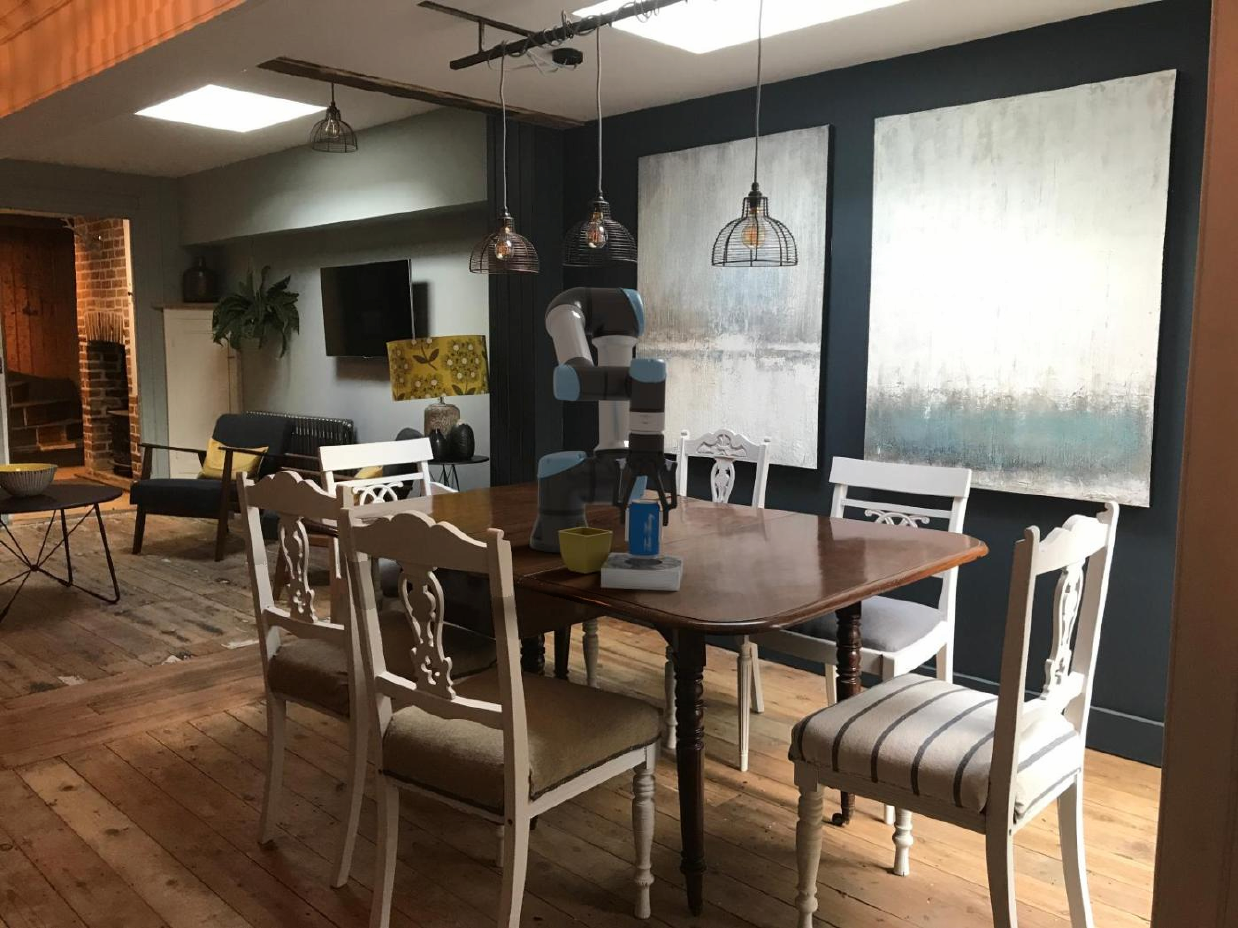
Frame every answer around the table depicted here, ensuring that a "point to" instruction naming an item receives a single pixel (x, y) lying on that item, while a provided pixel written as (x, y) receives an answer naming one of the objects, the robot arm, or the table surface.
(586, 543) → the flower pot
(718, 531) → the table surface
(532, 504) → the table surface
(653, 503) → the beverage can
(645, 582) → the jig
